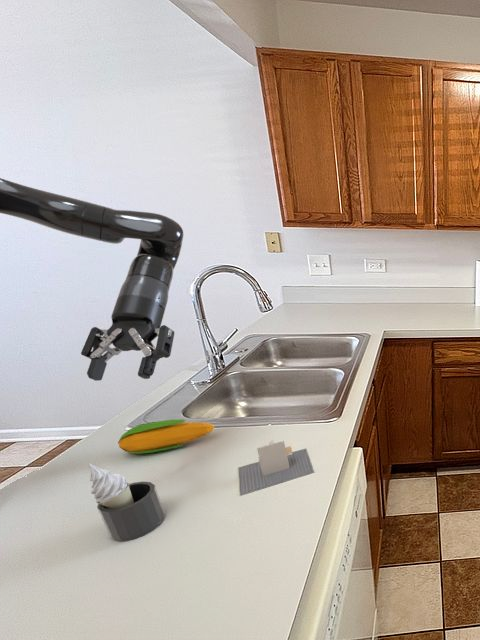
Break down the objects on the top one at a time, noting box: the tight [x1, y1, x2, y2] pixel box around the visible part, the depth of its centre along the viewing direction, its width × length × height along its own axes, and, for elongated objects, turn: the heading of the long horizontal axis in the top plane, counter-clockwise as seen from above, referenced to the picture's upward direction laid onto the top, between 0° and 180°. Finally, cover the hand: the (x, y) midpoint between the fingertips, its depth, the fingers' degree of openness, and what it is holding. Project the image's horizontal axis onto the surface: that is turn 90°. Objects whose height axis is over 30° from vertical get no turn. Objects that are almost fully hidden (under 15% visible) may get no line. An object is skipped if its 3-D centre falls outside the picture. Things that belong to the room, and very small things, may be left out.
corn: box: [117, 419, 215, 454], centre depth 100 cm, size 7×8×20 cm
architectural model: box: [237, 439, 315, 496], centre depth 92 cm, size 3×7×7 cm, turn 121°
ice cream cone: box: [88, 463, 134, 509], centre depth 73 cm, size 5×5×15 cm
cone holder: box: [97, 481, 166, 542], centre depth 75 cm, size 8×8×7 cm
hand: (119, 378), depth 74 cm, fingers open, 8 cm apart
